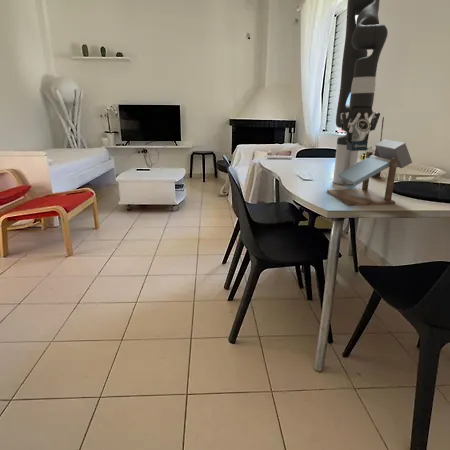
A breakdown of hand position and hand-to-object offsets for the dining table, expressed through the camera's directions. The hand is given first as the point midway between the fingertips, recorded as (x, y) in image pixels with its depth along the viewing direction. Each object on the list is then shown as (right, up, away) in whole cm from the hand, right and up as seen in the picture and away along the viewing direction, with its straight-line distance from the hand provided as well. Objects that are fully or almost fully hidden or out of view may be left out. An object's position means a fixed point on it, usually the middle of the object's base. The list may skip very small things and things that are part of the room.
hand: (356, 142), depth 118 cm
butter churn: (+27, -6, +45) cm, 53 cm away
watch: (0, -3, +1) cm, 3 cm away
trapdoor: (+9, -11, +5) cm, 15 cm away
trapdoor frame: (+3, -19, +7) cm, 21 cm away
